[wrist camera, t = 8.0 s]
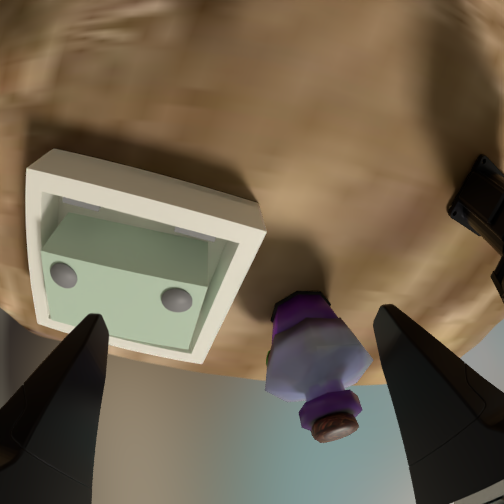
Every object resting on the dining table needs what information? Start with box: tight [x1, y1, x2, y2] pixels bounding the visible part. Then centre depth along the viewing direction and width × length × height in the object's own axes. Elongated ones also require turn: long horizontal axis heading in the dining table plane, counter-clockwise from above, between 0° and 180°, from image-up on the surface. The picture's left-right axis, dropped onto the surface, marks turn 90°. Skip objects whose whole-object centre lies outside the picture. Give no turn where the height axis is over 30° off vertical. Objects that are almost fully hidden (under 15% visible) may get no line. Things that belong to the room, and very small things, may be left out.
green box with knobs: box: [41, 212, 208, 349], centre depth 19 cm, size 10×6×5 cm, turn 71°
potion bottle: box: [265, 291, 373, 443], centre depth 22 cm, size 9×9×12 cm
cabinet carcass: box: [26, 148, 267, 364], centre depth 20 cm, size 14×13×4 cm
